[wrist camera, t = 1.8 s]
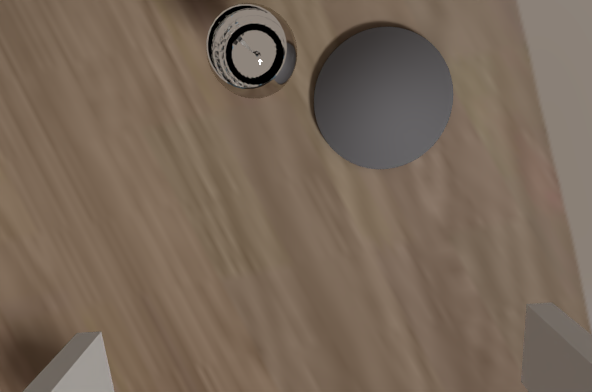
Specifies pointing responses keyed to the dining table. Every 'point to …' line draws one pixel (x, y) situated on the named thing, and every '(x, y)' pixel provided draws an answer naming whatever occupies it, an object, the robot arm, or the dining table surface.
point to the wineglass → (251, 50)
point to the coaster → (383, 97)
